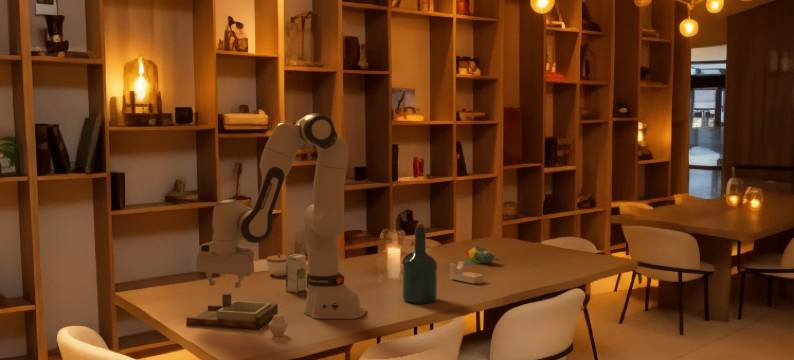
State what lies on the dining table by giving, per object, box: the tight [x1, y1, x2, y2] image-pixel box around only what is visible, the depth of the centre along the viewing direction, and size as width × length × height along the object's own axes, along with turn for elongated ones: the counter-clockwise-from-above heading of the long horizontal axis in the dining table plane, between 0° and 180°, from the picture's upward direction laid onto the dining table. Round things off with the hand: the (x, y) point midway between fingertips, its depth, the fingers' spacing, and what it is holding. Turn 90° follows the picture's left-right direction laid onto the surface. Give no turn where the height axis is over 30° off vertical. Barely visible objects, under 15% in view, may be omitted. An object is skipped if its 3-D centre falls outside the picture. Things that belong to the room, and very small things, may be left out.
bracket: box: [449, 260, 485, 285], centre depth 313 cm, size 13×7×8 cm, turn 47°
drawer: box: [217, 292, 272, 322], centre depth 250 cm, size 15×14×8 cm
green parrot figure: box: [455, 245, 501, 267], centre depth 352 cm, size 28×9×15 cm
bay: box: [185, 303, 279, 331], centre depth 251 cm, size 26×17×4 cm, turn 78°
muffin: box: [267, 314, 288, 337], centre depth 235 cm, size 6×6×7 cm
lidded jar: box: [266, 253, 288, 277], centre depth 323 cm, size 11×11×9 cm
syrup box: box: [285, 253, 307, 294], centre depth 294 cm, size 6×6×14 cm
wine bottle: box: [401, 222, 438, 305], centre depth 280 cm, size 14×13×30 cm
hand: (224, 286), depth 251 cm, fingers open, 8 cm apart
